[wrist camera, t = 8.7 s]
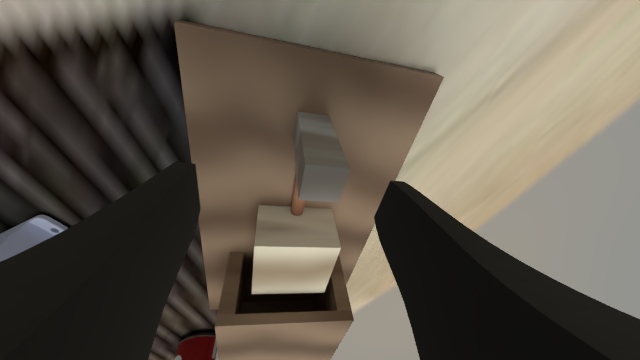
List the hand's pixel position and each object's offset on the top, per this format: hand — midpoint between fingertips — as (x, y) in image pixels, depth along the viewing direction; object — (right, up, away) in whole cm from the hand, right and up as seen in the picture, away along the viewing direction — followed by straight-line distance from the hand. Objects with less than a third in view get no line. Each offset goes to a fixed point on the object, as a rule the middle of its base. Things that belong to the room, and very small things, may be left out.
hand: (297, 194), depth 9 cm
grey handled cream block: (-1, -1, +10) cm, 10 cm away
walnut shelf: (-2, -3, +13) cm, 13 cm away
